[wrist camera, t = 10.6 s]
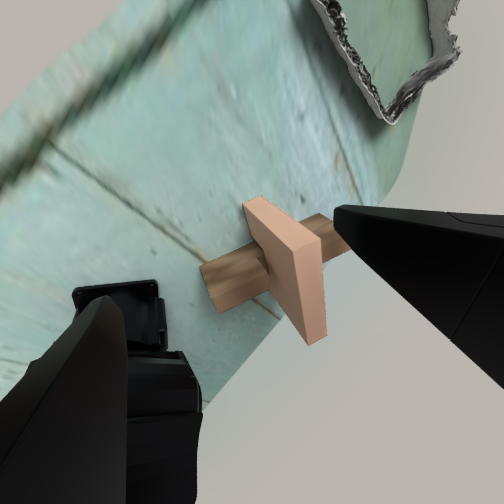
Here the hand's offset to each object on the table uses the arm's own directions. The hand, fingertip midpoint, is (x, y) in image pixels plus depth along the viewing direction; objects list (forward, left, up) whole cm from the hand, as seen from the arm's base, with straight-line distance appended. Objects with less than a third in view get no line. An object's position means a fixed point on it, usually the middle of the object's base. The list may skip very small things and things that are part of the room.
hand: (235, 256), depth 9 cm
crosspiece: (+8, -7, -12) cm, 16 cm away
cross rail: (+8, -6, -12) cm, 16 cm away
